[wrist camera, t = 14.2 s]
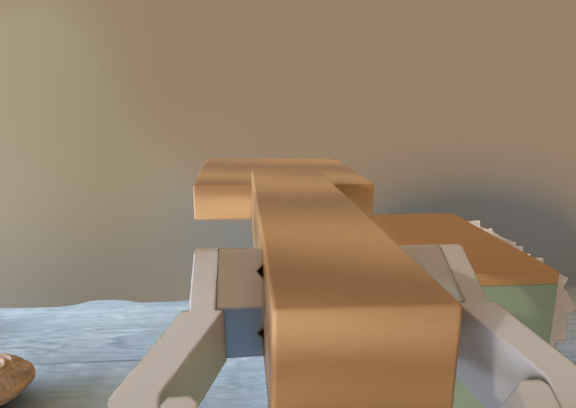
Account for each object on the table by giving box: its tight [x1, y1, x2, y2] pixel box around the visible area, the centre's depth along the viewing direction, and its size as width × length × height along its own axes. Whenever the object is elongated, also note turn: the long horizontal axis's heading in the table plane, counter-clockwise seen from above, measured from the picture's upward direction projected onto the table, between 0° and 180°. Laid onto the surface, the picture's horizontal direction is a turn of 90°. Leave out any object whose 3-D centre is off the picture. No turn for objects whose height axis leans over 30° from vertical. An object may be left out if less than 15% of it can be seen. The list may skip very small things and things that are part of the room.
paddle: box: [193, 159, 463, 408], centre depth 19 cm, size 23×8×2 cm, turn 6°
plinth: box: [370, 213, 559, 408], centre depth 38 cm, size 15×14×26 cm
